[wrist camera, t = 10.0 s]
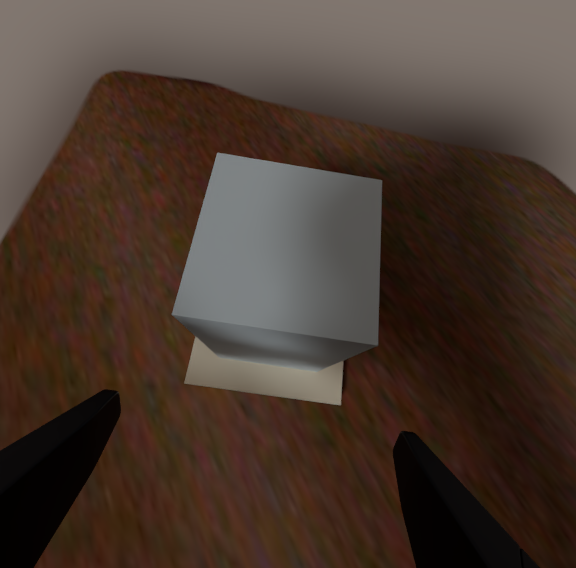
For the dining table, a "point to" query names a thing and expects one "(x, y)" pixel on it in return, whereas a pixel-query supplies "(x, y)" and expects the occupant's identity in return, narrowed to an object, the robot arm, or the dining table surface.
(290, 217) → the grey tall rectangular block
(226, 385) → the post board
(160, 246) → the dining table surface
